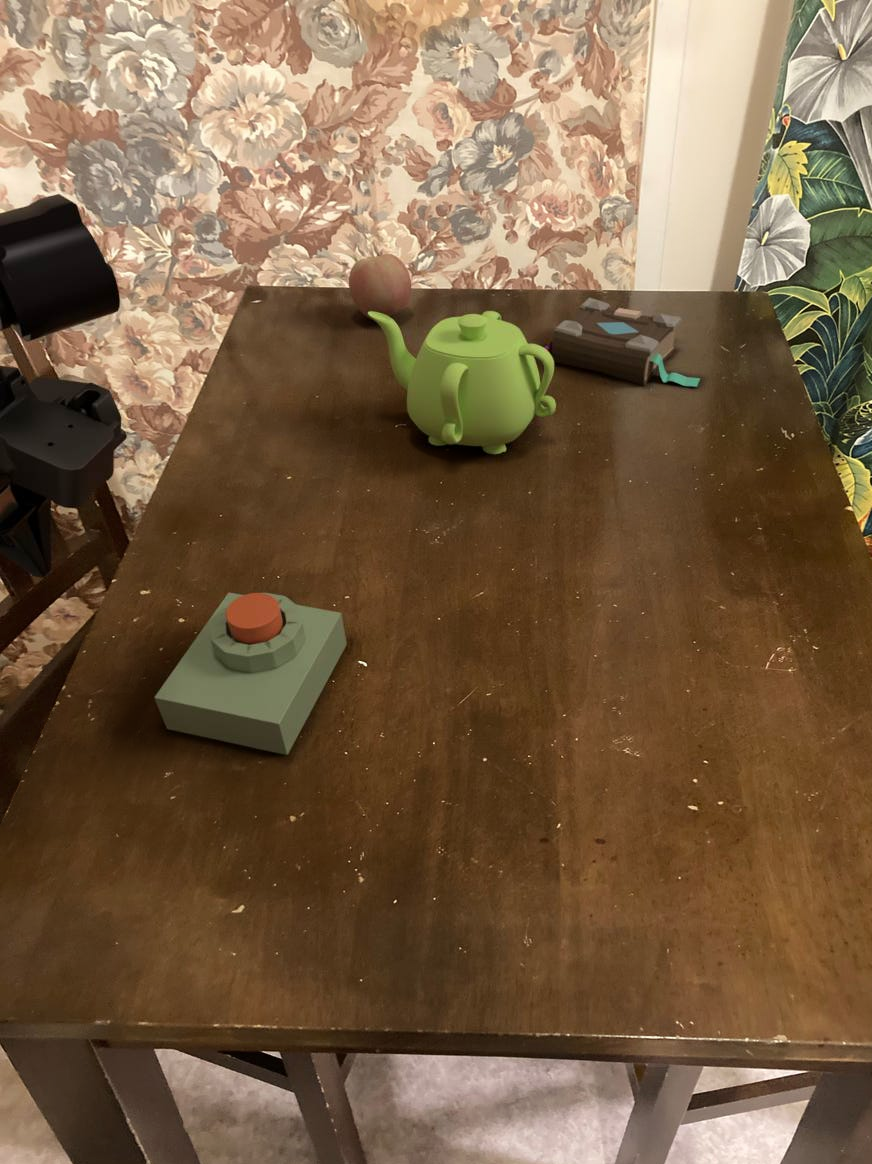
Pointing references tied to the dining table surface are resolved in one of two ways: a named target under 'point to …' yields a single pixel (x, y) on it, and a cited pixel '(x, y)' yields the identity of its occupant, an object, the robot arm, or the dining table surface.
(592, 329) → the book
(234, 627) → the lid button
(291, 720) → the push button box
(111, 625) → the dining table surface
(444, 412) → the teapot
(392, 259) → the apple
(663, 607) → the dining table surface
